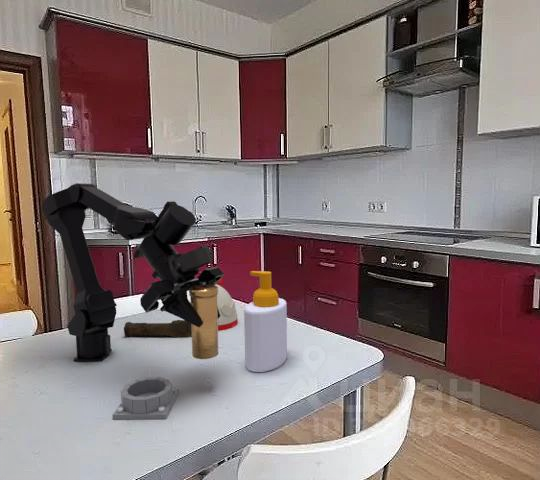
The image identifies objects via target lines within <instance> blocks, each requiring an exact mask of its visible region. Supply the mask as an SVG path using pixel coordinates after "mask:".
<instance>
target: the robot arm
mask: <svg viewBox="0 0 540 480" xmlns="http://www.w3.org/2000/svg"><path fill="white" fill-rule="evenodd" d="M41 205H42V206H41V207H42V208H41V209H42V213H43V214H44V216H45V219H46V220H47V223H48V225H49V226H50V227H51V228H52V229H54V230H55V231H56V232H57V233H58V234H59V237H60V239H61V243H62V246H63V249H64V253H65V256H66V259H67V262H68V266H69V269H70V272H71V275H72V279H73V281H74V286H75V289H76V296H75V300H74V303H73V310H74V315H73V316H72V318H71V320H70V321H69V322H68V324H67V326H66V327H67V331H68V334H69V335H70V336H75V344H76V356H75V357H74V358H73V361H74V362H101V361H103V360H104V359H105V358H106V357H107V356H108V355H109V354H110V353H111V352H112V351H113V349H112V345H111V334H109V330H108V329H110V328H113V327H114V325H115V320H116V315H117V305H118V304H117V303H116V302H115V299H114V294H113V292H112V290H111V289H107V290H105V289H104V288H103V287H102V286H101V284H100V282H99V279H98V275H97V272H96V268H95V266H94V262H93V259H92V256H91V252H90V248H89V245H88V241H87V240H86V237H85V233H84V230H83V226H84V223H85V220H86V218H87V217H86V211H87V210H88V209H90V210H92V211H93V212H95V213H96V214H98V215H100V216H101V217H103V218H104V219H106V220H108V221H109V222H111V224H112V225H113V229H114V231H115V232H116V233H117V234H118V235H120V236H121V237H122V238H123V239H124V240H126V241H135V240H141V239H142V241H141V242H140V243H139V244H135V250H134V253H133V259H141V258H144V259H145V260H146V262H147V263H148V264H149V266H150V268H152V270H153V271H154V272H153V273H152V274H151V276H152V277H153V279H159V280H158V281H154V282H151V284H150V285H149V286H148V288H147V289H146V290H145V292H144V293H143V294H142V296H141V297H140V299H139V300H140V306H141V307H142V309H143V310H144V312H145V313H146V314H147V313H150V312H152V311H153V312H154V311H156V310H158V309H159V306H160V301H161V304H162V306H161V307H160V309H159V311H160V312H165V313H169V314H171V315H173V316H175V317H178V318H179V319H180V320H185V321H187V322H189V323H191V324H193V325H195V326H197V327H201V326H202V325H203V323H202V321H201V319H200V317H199V315H198V314H197V312H196V311H195V309H194V308H193V306H192V305H191V301H190V300H189V298H188V292H189V288H190V287H192V286H197V285H216V284H217V283H218V282H219V281H220V279H223V277H224V276H225V274H224V272H223V271H222V270H221V268H219V267H217V266H212V267H210V268H205V269H203V270H202V271H201V270H200V268H201V267H204V266H206V265H210V264H212V263H213V262H212V260H213V259H214V251H213V250H212V249H211V248H210V247H209V246H208V245H207V244H201V245H199V247H196V248H195V249H192V250H191V249H190V250H189V251H187V252H186V253H184V252H182V253H178V251H177V250H176V249H175V247H174V246H173V245H179V244H181V242H182V241H183V240H184V239H185V237H186V236H187V234H188V233H189V232H190V230H191V229H192V228H193V227H194V225H195V224H196V221H197V220H196V217H195V215H194V214H193V212H192V211H189V210H188V209H187V208H186V207H184V206H182V205H180V204H178V203H177V201H174V200H173V201H171V200H170V201H166V203H165V204H164V206H163V208H162V210H161V211H160V213H159V214H158V215H156V213H155V212H154V211H153V210H152V211H151V210H149V209H145V208H141V207H138V206H137V207H136V206H130V205H127V204H126V203H124V202H122V201H121V200H119V199H117V198H116V197H113V196H112V195H110V194H108V193H107V192H104V191H103V190H101V189H99V188H98V186H96V184H93V183H83V182H81V183H79V182H78V183H74V184H71V185H70V186H68V187H67V188H65V189H62V190H60V191H59V190H58V191H56V192H53V193H52V194H49V195H47V196H46V198H45V199H44V200H43V201H42V203H41ZM200 271H201V272H200ZM198 274H199V275H198ZM197 275H198V276H197ZM195 276H196V277H195ZM159 300H160V301H159ZM217 312H218V319H219V317H220V313H219V310H218V306H217Z"/></svg>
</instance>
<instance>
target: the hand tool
mask: <svg viewBox="0 0 540 480" xmlns="http://www.w3.org/2000/svg"><path fill="white" fill-rule="evenodd" d="M123 333H124V337H125V338H127V337H133V336H155V337H157V336H167V337H168V336H169V337H172V338H173V339H178V338H180V339H181V338H182V339H183V338H190V337H191V338H192V330H191V323H189V322H187V321H185V320H183V319H176V320H172V321H171V322H159V323H158V322H152V323H151V322H150V323H149V322H148V323H147V322H131V321H127V322H125V324H124V327H123Z"/></svg>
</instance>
